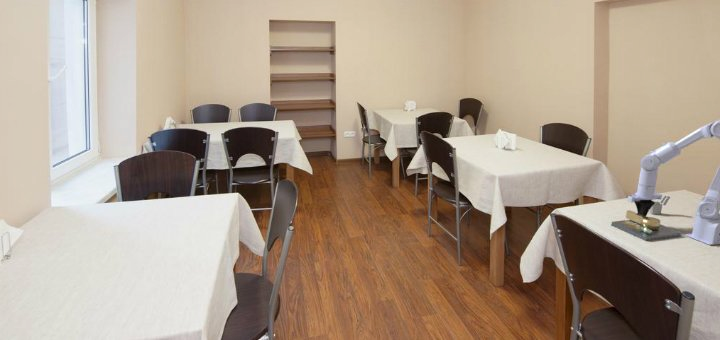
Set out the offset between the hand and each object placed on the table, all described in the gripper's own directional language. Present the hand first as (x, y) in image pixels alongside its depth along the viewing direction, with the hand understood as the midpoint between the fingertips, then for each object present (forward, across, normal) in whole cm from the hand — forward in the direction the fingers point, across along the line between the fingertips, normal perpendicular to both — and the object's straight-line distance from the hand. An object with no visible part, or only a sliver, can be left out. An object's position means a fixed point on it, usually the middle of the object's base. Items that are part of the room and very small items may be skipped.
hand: (641, 217), depth 178 cm
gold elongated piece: (+1, +3, +3) cm, 4 cm away
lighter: (+3, -18, -8) cm, 20 cm away
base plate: (+3, +4, +6) cm, 7 cm away
